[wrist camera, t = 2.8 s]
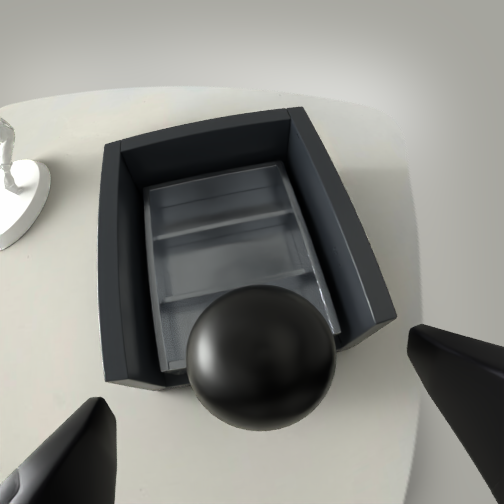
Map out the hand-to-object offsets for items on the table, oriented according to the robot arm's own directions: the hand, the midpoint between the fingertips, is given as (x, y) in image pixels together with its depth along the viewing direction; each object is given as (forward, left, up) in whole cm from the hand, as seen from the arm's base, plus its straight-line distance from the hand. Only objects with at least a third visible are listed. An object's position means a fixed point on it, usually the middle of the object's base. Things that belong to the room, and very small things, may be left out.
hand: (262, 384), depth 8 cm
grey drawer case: (+7, 0, -8) cm, 11 cm away
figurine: (+17, +18, -8) cm, 26 cm away
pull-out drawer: (+5, 0, -7) cm, 9 cm away
